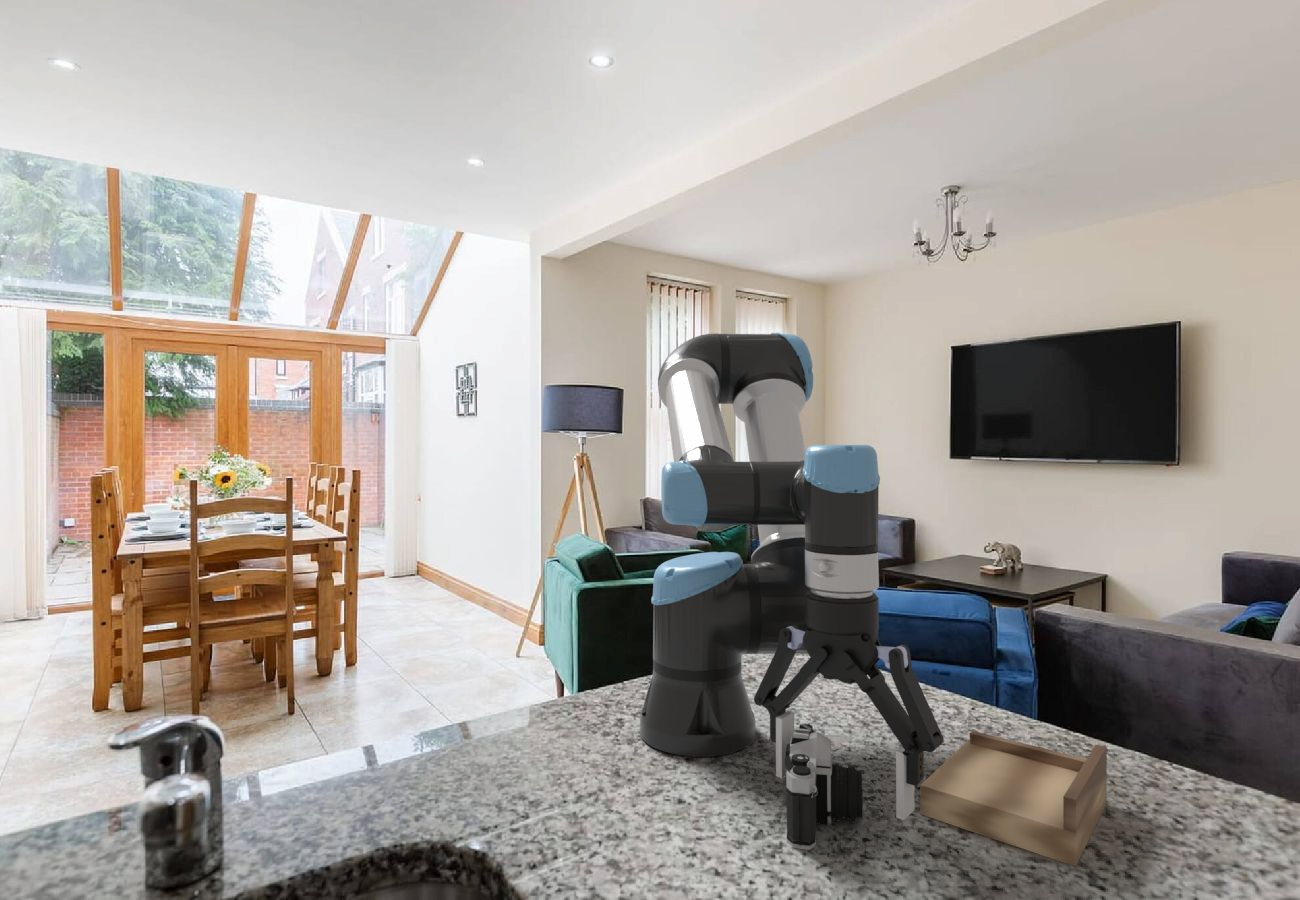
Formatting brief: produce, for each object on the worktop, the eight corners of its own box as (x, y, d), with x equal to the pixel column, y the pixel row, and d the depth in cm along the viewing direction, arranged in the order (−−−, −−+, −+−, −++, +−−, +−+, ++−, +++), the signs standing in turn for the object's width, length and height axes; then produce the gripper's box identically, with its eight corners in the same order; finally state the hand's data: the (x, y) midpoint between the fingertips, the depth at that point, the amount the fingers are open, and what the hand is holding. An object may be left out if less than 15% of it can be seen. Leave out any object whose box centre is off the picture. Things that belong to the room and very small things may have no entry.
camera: (868, 861, 66) (869, 760, 67) (782, 849, 68) (783, 751, 68) (858, 803, 79) (859, 719, 79) (786, 794, 80) (787, 712, 81)
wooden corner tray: (920, 814, 74) (920, 755, 74) (968, 765, 85) (968, 714, 85) (1075, 866, 65) (1075, 800, 65) (1106, 803, 76) (1106, 746, 76)
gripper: (723, 581, 81) (724, 769, 81) (950, 614, 65) (951, 850, 65) (759, 572, 87) (760, 748, 87) (977, 601, 70) (977, 818, 71)
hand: (841, 792), depth 76 cm, fingers open, 13 cm apart
